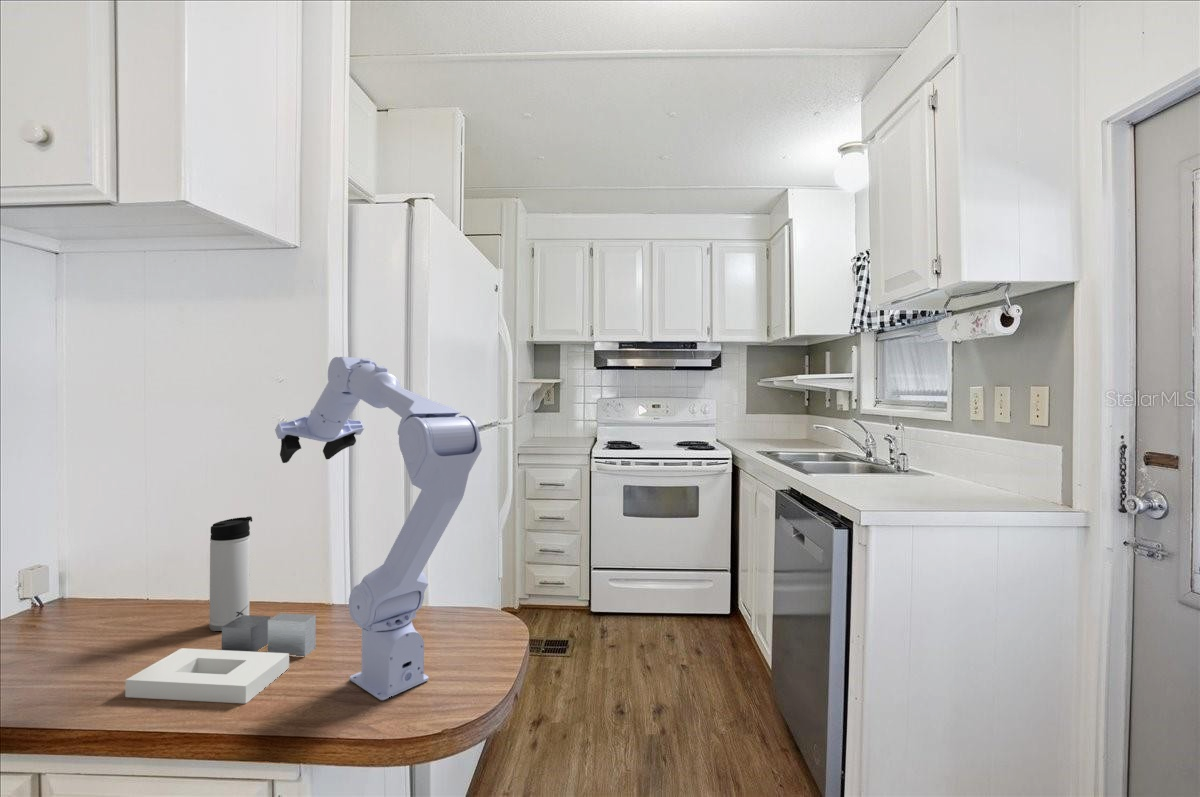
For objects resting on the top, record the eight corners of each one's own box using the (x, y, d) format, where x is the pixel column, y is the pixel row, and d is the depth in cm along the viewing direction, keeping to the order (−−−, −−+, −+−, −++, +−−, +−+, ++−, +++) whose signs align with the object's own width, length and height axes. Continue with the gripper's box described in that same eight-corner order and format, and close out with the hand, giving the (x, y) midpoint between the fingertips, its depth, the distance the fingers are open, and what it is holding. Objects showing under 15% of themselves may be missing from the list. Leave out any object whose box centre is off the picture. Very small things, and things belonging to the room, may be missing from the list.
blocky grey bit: (315, 649, 97) (315, 614, 97) (305, 657, 94) (305, 621, 94) (278, 647, 97) (279, 613, 97) (267, 656, 94) (267, 620, 94)
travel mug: (250, 627, 105) (251, 520, 105) (207, 635, 102) (208, 524, 101) (252, 615, 110) (253, 513, 110) (211, 622, 107) (212, 517, 107)
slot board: (289, 669, 90) (289, 653, 90) (245, 703, 80) (245, 686, 80) (181, 663, 91) (181, 648, 91) (125, 697, 81) (125, 679, 81)
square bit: (270, 644, 98) (270, 616, 98) (250, 658, 93) (250, 628, 93) (242, 643, 99) (242, 615, 99) (221, 657, 94) (221, 627, 94)
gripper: (365, 392, 105) (337, 437, 111) (282, 391, 94) (256, 441, 100) (378, 422, 102) (348, 466, 109) (294, 425, 91) (267, 474, 97)
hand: (305, 456), depth 104 cm, fingers open, 7 cm apart
